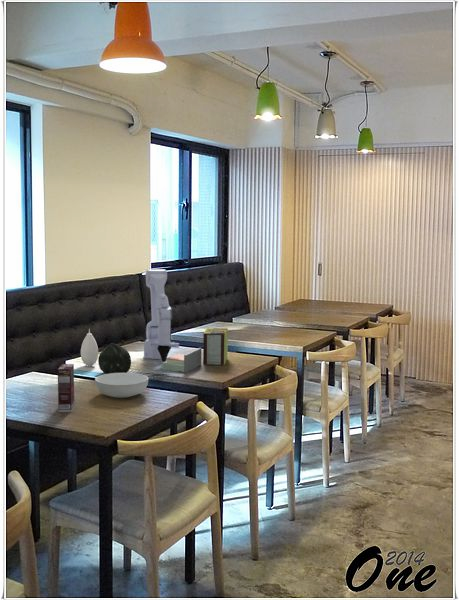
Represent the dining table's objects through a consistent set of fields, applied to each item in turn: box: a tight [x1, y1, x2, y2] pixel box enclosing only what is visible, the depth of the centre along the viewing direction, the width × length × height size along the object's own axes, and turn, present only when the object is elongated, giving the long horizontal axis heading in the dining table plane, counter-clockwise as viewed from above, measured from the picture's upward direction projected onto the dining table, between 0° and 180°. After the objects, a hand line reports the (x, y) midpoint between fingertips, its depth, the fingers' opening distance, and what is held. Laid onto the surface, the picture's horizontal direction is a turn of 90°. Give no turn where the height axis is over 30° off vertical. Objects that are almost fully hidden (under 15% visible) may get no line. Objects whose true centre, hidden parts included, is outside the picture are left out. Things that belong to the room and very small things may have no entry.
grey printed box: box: [161, 347, 203, 373], centre depth 310 cm, size 12×18×8 cm
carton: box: [165, 353, 186, 365], centre depth 311 cm, size 10×12×5 cm
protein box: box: [202, 327, 229, 366], centre depth 323 cm, size 10×15×16 cm
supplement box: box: [57, 363, 76, 413], centre depth 240 cm, size 9×5×16 cm, turn 5°
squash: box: [97, 342, 132, 375], centre depth 295 cm, size 14×15×15 cm
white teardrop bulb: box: [80, 328, 99, 368], centre depth 308 cm, size 8×8×18 cm
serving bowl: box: [94, 372, 149, 399], centre depth 261 cm, size 21×21×7 cm
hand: (164, 361), depth 314 cm, fingers closed
